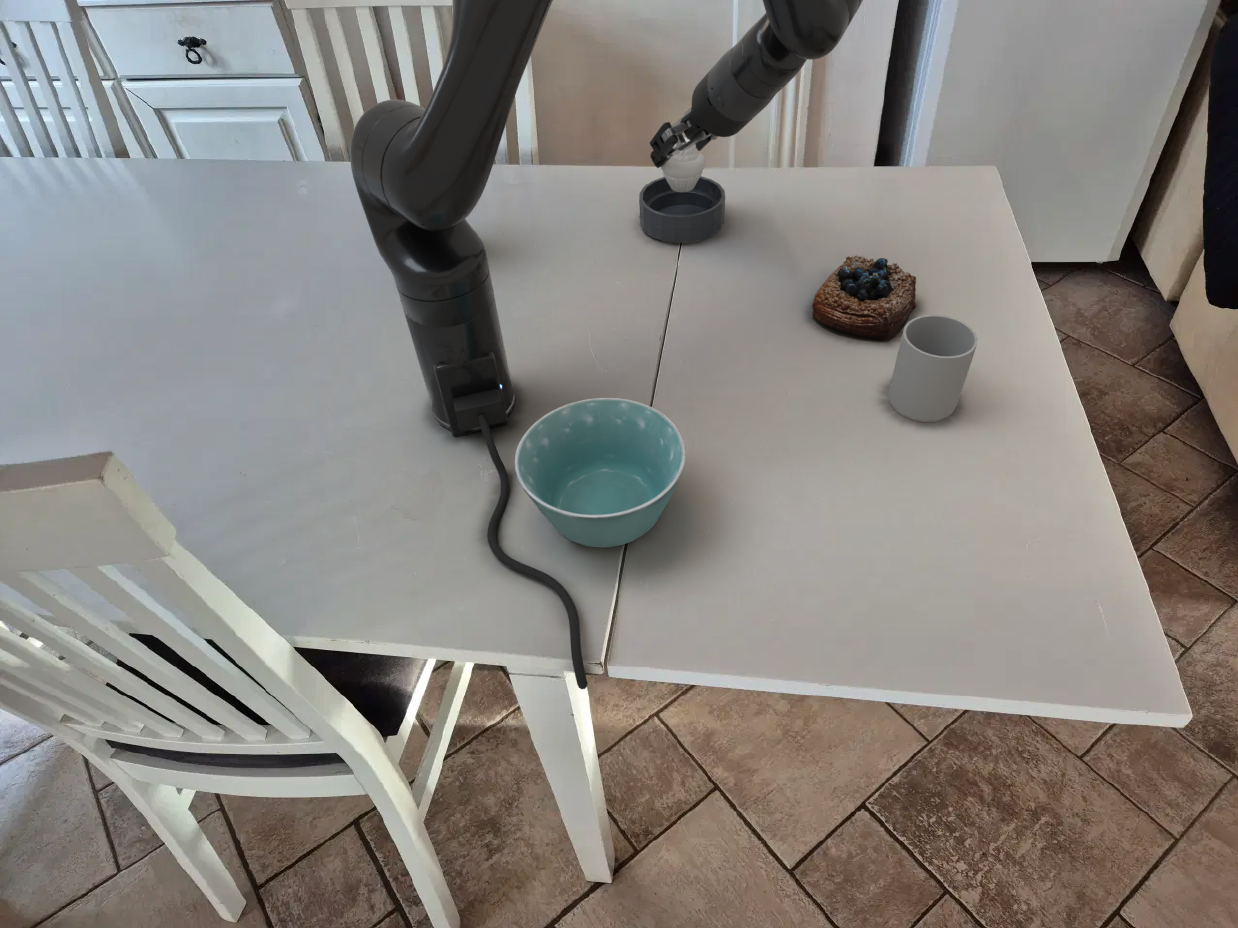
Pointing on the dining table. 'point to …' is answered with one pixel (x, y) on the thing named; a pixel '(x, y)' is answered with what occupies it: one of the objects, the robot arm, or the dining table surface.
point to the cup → (931, 367)
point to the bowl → (601, 469)
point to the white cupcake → (684, 169)
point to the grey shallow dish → (682, 211)
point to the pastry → (865, 299)
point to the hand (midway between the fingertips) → (674, 153)
